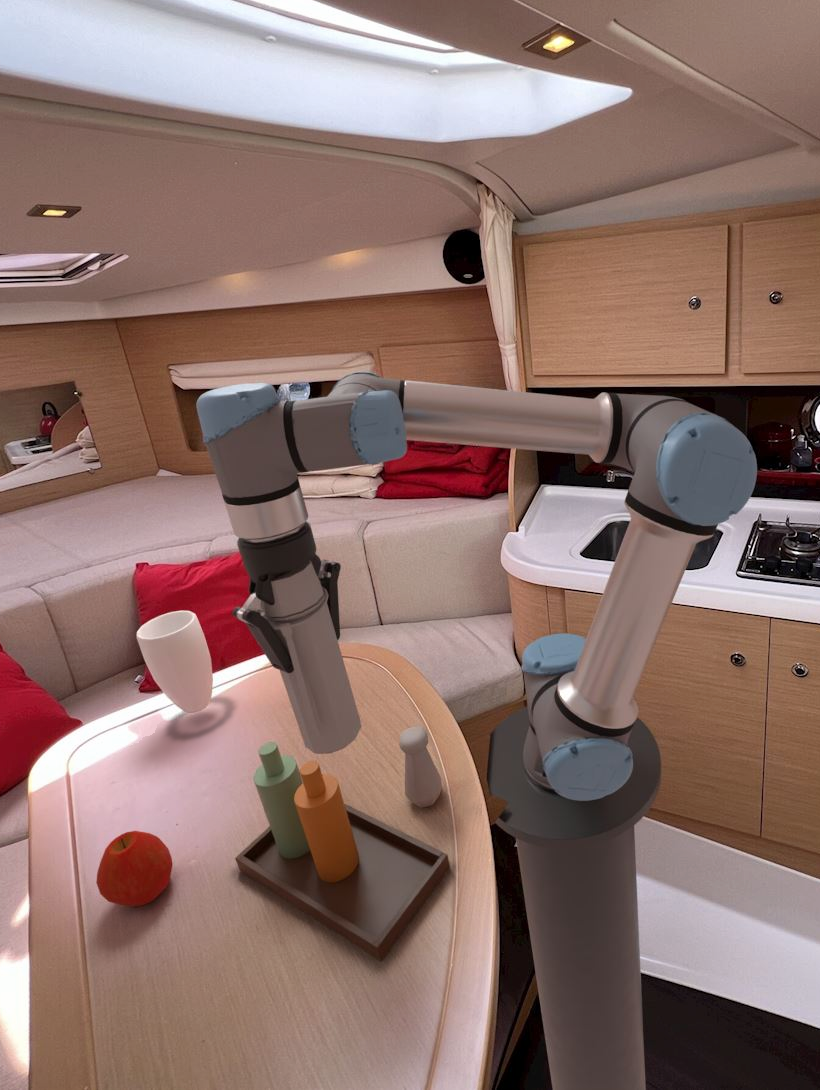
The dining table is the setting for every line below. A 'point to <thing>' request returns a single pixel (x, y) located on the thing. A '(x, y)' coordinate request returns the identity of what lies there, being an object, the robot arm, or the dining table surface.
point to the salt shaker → (419, 768)
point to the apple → (134, 869)
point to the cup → (178, 659)
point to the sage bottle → (281, 799)
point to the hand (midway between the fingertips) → (322, 701)
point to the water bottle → (313, 661)
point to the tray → (355, 882)
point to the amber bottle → (326, 824)
